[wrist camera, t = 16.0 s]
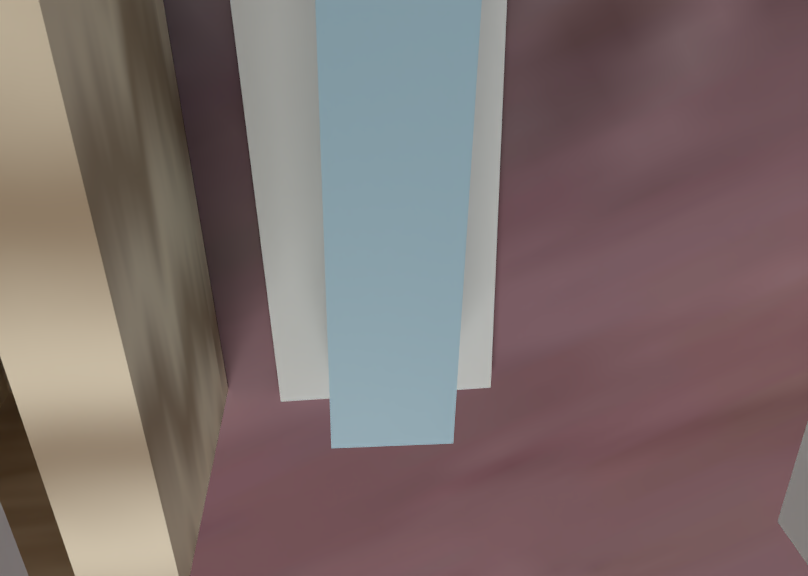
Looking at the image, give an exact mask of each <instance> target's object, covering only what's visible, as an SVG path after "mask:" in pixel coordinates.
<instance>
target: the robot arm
mask: <svg viewBox="0 0 808 576" xmlns="http://www.w3.org/2000/svg"><path fill="white" fill-rule="evenodd" d="M778 523H779V524H780V526H781V527H782V529H783V530H784V532H785V533H786V535H787V536H788V537H789V539H790V540H791V542H792V543H793V545H794V546H795V547H796V549H797V550H798V552H799V553H800V555H801V556H802V557H803V559H804V560H805V562H806V563H807V565H808V422H807V426H806V429H805V432H804V436H803V439H802V442H801V446H800V449H799V452H798V455H797V459H796V462H795V465H794V469H793V472H792V475H791V479H790V482H789V485H788V489H787V492H786V495H785V499H784V502H783V505H782V509H781V512H780V515H779V518H778ZM0 576H29V575H28V573H27V570H26V568H25V565H24V562H23V560H22V557H21V555H20V552H19V549H18V547H17V544H16V541H15V539H14V536H13V534H12V531H11V528H10V526H9V523H8V521H7V518H6V515H5V513H4V510H3V507H2V505H1V502H0Z"/></svg>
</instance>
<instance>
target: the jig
mask: <svg viewBox="0 0 808 576" xmlns="http://www.w3.org/2000/svg"><path fill="white" fill-rule="evenodd" d="M227 393H228V385H227V379H226V373H225V367H224V361H223V355H222V349H221V343H220V337H219V331H218V325H217V319H216V313H215V308H214V302H213V296H212V290H211V284H210V278H209V272H208V266H207V260H206V254H205V248H204V242H203V236H202V230H201V224H200V218H199V212H198V206H197V200H196V194H195V188H194V182H193V176H192V170H191V164H190V158H189V152H188V146H187V140H186V134H185V128H184V122H183V117H182V111H181V105H180V99H179V93H178V87H177V81H176V75H175V69H174V63H173V57H172V51H171V45H170V39H169V33H168V27H167V21H166V15H165V9H164V3H163V0H0V502H1V505H2V507H3V510H4V513H5V515H6V518H7V521H8V523H9V526H10V528H11V531H12V534H13V536H14V539H15V541H16V544H17V547H18V549H19V552H20V555H21V557H22V560H23V562H24V565H25V568H26V570H27V573H28V575H29V576H190V572H191V567H192V562H193V557H194V553H195V548H196V543H197V538H198V533H199V528H200V524H201V519H202V514H203V509H204V504H205V499H206V494H207V490H208V485H209V480H210V475H211V470H212V465H213V460H214V456H215V451H216V446H217V441H218V436H219V431H220V427H221V422H222V417H223V412H224V407H225V402H226V397H227Z"/></svg>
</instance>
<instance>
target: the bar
mask: <svg viewBox="0 0 808 576" xmlns="http://www.w3.org/2000/svg"><path fill="white" fill-rule="evenodd" d="M481 5H482V0H315V9H316V36H317V64H318V91H319V118H320V146H321V173H322V201H323V228H324V256H325V283H326V311H327V338H328V366H329V393H330V421H331V448H351V447H376V446H401V445H425V444H450V443H453V439H454V423H455V408H456V392H457V377H458V361H459V346H460V330H461V315H462V299H463V284H464V268H465V253H466V237H467V222H468V206H469V191H470V175H471V160H472V144H473V129H474V113H475V98H476V82H477V67H478V51H479V36H480V20H481Z"/></svg>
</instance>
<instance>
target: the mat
mask: <svg viewBox="0 0 808 576" xmlns="http://www.w3.org/2000/svg"><path fill="white" fill-rule="evenodd" d="M230 4H231V12H232V20H233V28H234V35H235V43H236V51H237V59H238V67H239V75H240V83H241V91H242V99H243V107H244V114H245V122H246V130H247V138H248V146H249V154H250V162H251V170H252V178H253V185H254V193H255V201H256V209H257V217H258V225H259V233H260V241H261V249H262V256H263V264H264V272H265V280H266V288H267V296H268V304H269V312H270V320H271V328H272V335H273V343H274V351H275V359H276V367H277V375H278V383H279V391H280V399H281V402H283V401H298V400H313V399H327V398H330V393H329V366H328V338H327V311H326V283H325V256H324V228H323V201H322V173H321V146H320V118H319V91H318V64H317V36H316V9H315V0H230ZM506 11H507V0H482V5H481V20H480V36H479V51H478V67H477V82H476V98H475V113H474V129H473V144H472V160H471V175H470V191H469V206H468V222H467V237H466V253H465V268H464V284H463V299H462V315H461V330H460V346H459V361H458V377H457V390H460V389H475V388H490V387H491V367H492V343H493V319H494V296H495V272H496V248H497V224H498V201H499V177H500V153H501V130H502V106H503V82H504V58H505V35H506Z"/></svg>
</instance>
